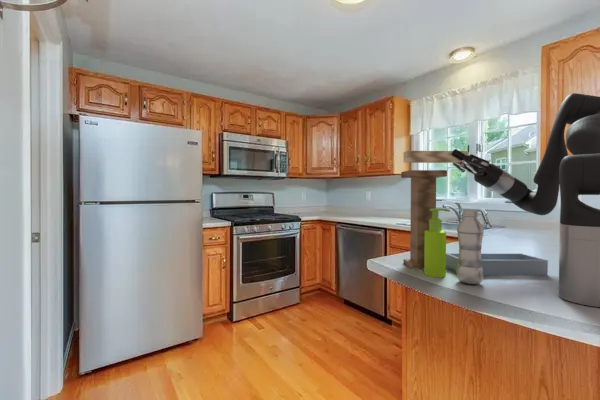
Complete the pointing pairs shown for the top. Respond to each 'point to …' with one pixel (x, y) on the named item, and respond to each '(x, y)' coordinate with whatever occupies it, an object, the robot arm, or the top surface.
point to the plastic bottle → (470, 248)
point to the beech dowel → (431, 157)
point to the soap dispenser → (435, 247)
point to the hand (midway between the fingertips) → (450, 152)
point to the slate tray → (505, 264)
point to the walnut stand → (421, 211)
